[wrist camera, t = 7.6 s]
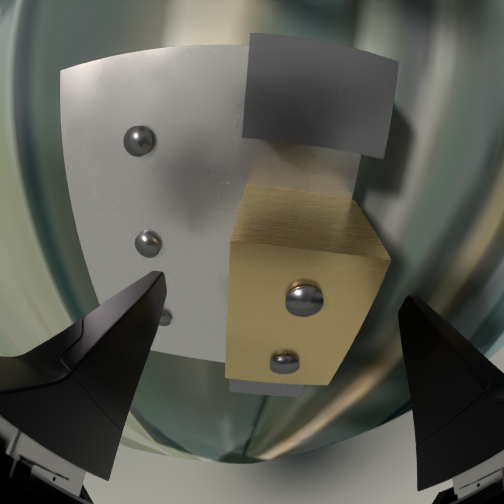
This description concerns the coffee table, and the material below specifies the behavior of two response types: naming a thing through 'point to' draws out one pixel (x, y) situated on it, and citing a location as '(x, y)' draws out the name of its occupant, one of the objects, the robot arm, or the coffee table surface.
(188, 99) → the steel hinge plate
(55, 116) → the coffee table surface
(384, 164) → the coffee table surface
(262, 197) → the block
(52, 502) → the robot arm
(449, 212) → the coffee table surface
